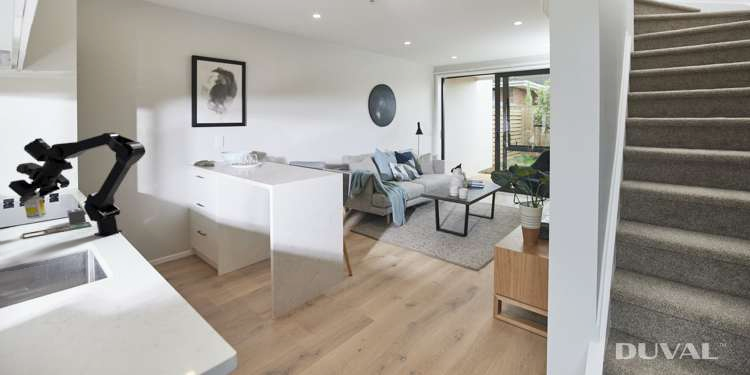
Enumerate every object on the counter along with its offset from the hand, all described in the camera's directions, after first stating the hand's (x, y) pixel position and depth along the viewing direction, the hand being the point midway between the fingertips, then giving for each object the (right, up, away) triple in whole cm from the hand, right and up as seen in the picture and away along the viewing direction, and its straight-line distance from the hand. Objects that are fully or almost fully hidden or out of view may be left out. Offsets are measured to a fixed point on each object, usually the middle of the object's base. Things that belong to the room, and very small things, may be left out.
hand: (29, 199), depth 137 cm
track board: (+5, -12, +6) cm, 15 cm away
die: (+4, -10, +17) cm, 20 cm away
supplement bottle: (+2, -7, +1) cm, 7 cm away
